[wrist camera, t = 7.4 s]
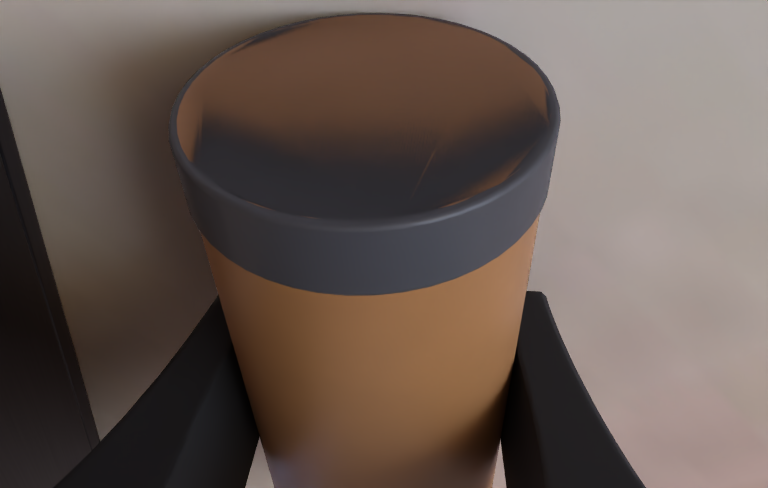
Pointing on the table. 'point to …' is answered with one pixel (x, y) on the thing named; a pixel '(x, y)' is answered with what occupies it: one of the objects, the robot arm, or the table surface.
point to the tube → (371, 238)
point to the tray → (34, 346)
